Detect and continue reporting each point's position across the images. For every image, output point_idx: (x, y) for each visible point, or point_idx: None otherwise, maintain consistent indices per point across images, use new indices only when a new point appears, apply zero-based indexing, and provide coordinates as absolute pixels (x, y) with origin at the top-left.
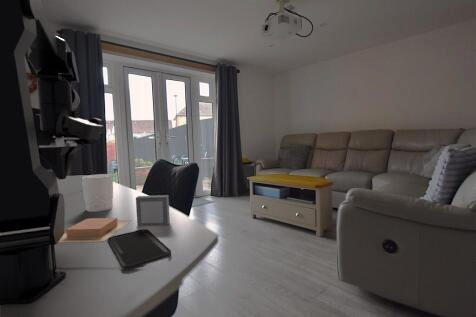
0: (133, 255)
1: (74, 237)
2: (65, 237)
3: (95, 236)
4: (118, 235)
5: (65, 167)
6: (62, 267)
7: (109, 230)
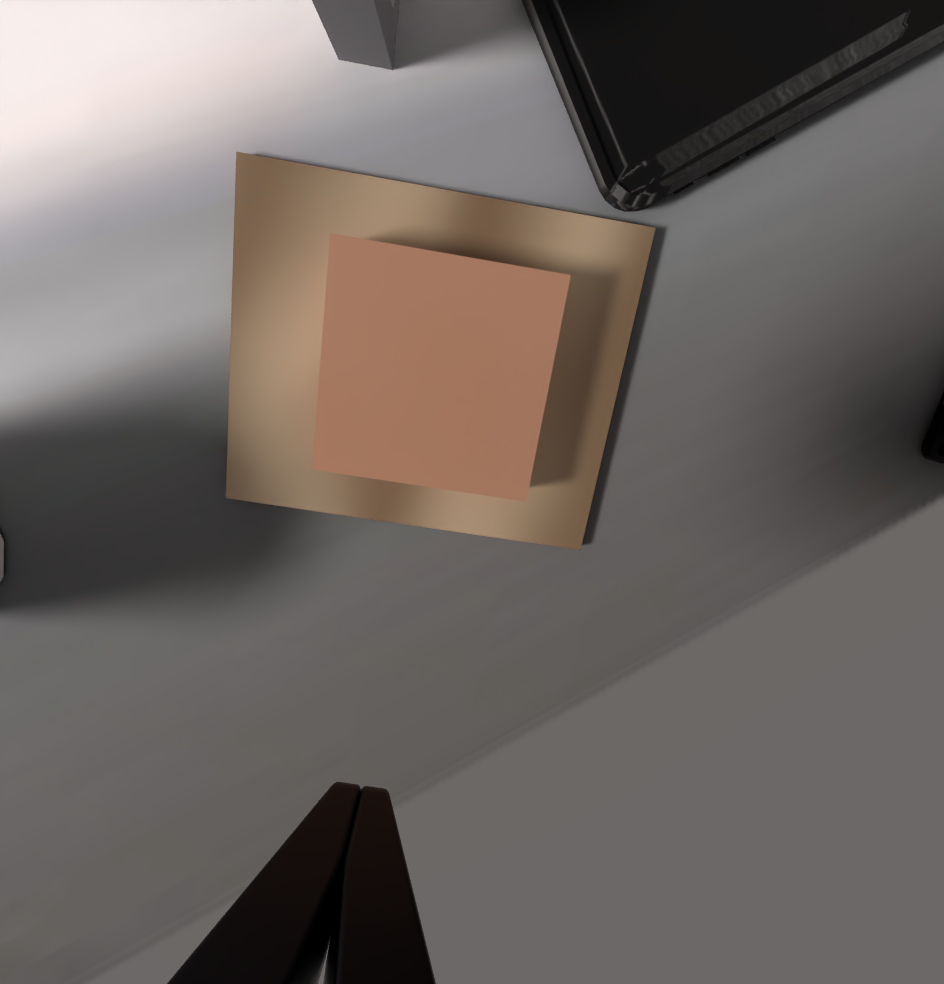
0: None
1: None
2: None
3: None
4: (602, 145)
5: (308, 943)
6: (889, 332)
7: None
